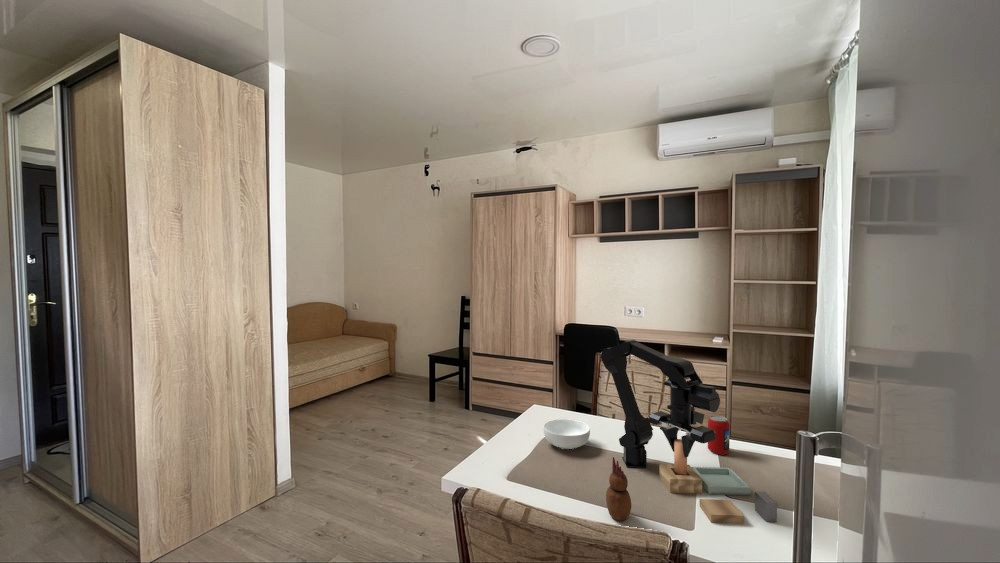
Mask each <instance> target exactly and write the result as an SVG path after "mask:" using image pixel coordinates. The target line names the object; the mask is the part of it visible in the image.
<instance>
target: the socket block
mask: <svg viewBox="0 0 1000 563" xmlns="http://www.w3.org/2000/svg"><path fill="white" fill-rule="evenodd" d="M692 467H693V466H691V465H690V464H687V474H679V473H676V472H675V471H674V464H673V463H672V464H671V463H670V464H668V463H667V464H666V463H659V479H661V481H662V483H663V484H664V486H665V487H666V489H667V490H668V492H669V493H672V494H673V493H674V494H703V487H702V479H701V478H700V477H699V476H698V474H697V473H696V472H695V471H694V470H693V469H692Z"/></svg>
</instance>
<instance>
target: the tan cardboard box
mask: <svg viewBox="0 0 1000 563" xmlns="http://www.w3.org/2000/svg"><path fill="white" fill-rule="evenodd" d="M699 508H700V510H701V511H702V512H703V513H704V515H705V516H706V518H707V519H708V521H709V522H710V523H715V524H734V525H739V524H740V525H744V524H745V515H744V514H743V513H742V512H741V511H740V509H739V508H738V507H737V506H736V505H735V504H734V502H733V501H732V500H731V499H717V498H716V499H714V498H713V499H710V498H699Z"/></svg>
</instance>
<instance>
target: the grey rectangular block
mask: <svg viewBox="0 0 1000 563" xmlns="http://www.w3.org/2000/svg"><path fill="white" fill-rule="evenodd" d="M754 511H755V512H756V513H757V514H758V515H759V516H760V517H761V518H762V519H763V520H764V522H767V523H777V522H778V502H777V501H776V500H774V499H773V498H772V496H770V495H769V494H768V493H767V492H766V491H755V492H754Z"/></svg>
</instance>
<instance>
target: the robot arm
mask: <svg viewBox="0 0 1000 563" xmlns="http://www.w3.org/2000/svg"><path fill="white" fill-rule="evenodd" d="M631 355H632V356H634V357H636V358H637V359H640V360H642V361H643V362H646V363H647V364H650V365H651V366H654V367H656V368H657V369H659V370H660V371H661V372H662V374H663V375H664V376H665V377H666V378H668V379H666V380H665V381H664V382H663V383H662V384H663V385H664V386H665V387H669V397H670V398H669V399H670V400H669V401H670V402H669V404H668V405H666V406H667V407H666V408H667V410H670V411H669V412H670V413H667V412H665V411H662V410H660V411H656V412H652V413H650V415H649V417H645V416H643V415H642V413H641V411H640V408H639V405H638V402H637V399H636V397H635V393H634V390H633V387H632V385H631V382H630V379H629V376H628V373H627V367H628V359H627V357H629V356H631ZM600 359H601V362H602V364H603V366H604V368H605V369H606V371H608V372H609V373H610V374H611V376H612V381H613V382H614V385H615V389H616V391H617V392H616V393H617V395H618V398H619V400H620V404H621V407H622V410H623V413H624V416H625V418H624V426H623V427H624V431H625V432H624V433H625V434H623V435H622V436H621V437H620V438H619V437H618V438H619V439H618V441H619V444H620V446H621V447H623V456H622V457H621V460H622V461H623V463H624V465H625V467H626V468H640V469H641V468H645V469H646V468H647V462H648V461H647V457H648V456H647V455H648V454H647V453H648V452H647V450H646V446H645V445H648V444H649V442H650V440H651V439H653V438H652V437H653V436H654V434H653V433H654V432H653V431H654V428H653V426H652V425H655V426H658V425H659V424H660V423H661V424H660V425H661V426H660V427H659V430H660V431H662V433H663V434H664V437H665V438H666V440H667V442H668V444H669V446H670V448H671V450H672V452H673V453H674V440H675V439H678V432H679V430H681V431H684V432H685V435H681V436H680V437H681V438H680V439H682V445H683V453H684V456H685V457H687V458H688V457H689V455H690V453H691V451H692V449H693V446H694V444H695V442H698V443H700V444H708V442H710V441H713V440H716V434H715V432H714V430H713V429H710V428H708V426H704V418H705V414H704V413H701V412H699V411H696V409H695V408H697V409H700V410H703V411H707V412H711V413H716V412H717V411H718V410H719V407H720V405H721V397H720V395H719V393H718V392H717V388H716V386H710V385H704V384H703V381H702V380H701V378H700V376H699V374H698V373H697V371H696V370H695V367H694V364H693V362H691V361H690V360H688V359H685V358H682V357H681V358H680V357H678V356H677V357H676V356H669V355H666V354H664V353H662V352H660V351H657V350H655V349H653V348H651V347H649V346H647V345H645V344H642V343H641V342H639V341H637V340H636V339H631V340H624V341H622V342H621V343H619V344H617V345H615V346H612V347H607V348H604V349H602V351H601V353H600ZM686 380H687V381H686ZM697 423H698V424H700V426H697V427H696V426H695V425H696V424H697ZM692 425H693V426H692ZM694 426H695V427H694Z"/></svg>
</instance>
